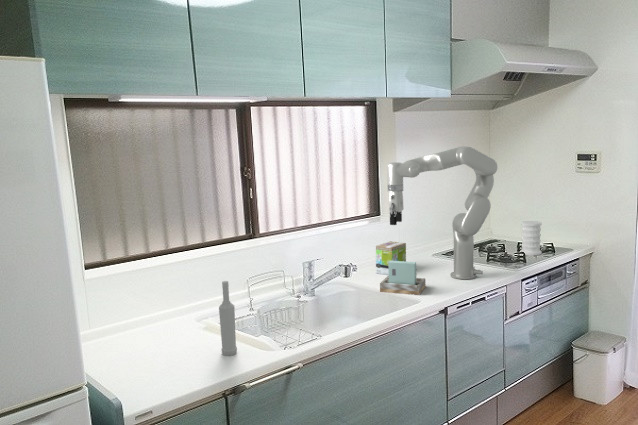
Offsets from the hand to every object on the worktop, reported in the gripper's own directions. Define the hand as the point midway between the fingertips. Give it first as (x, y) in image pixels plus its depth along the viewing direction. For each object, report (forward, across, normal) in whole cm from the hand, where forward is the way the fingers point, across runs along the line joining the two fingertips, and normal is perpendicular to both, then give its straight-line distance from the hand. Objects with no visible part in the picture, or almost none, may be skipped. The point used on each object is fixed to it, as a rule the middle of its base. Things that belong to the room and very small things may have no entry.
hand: (395, 223), depth 268 cm
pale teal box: (+27, -18, -8) cm, 33 cm away
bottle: (+28, -106, +30) cm, 114 cm away
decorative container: (+28, +77, -59) cm, 101 cm away
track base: (+28, -15, -7) cm, 33 cm away
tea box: (+29, +15, +7) cm, 33 cm away
